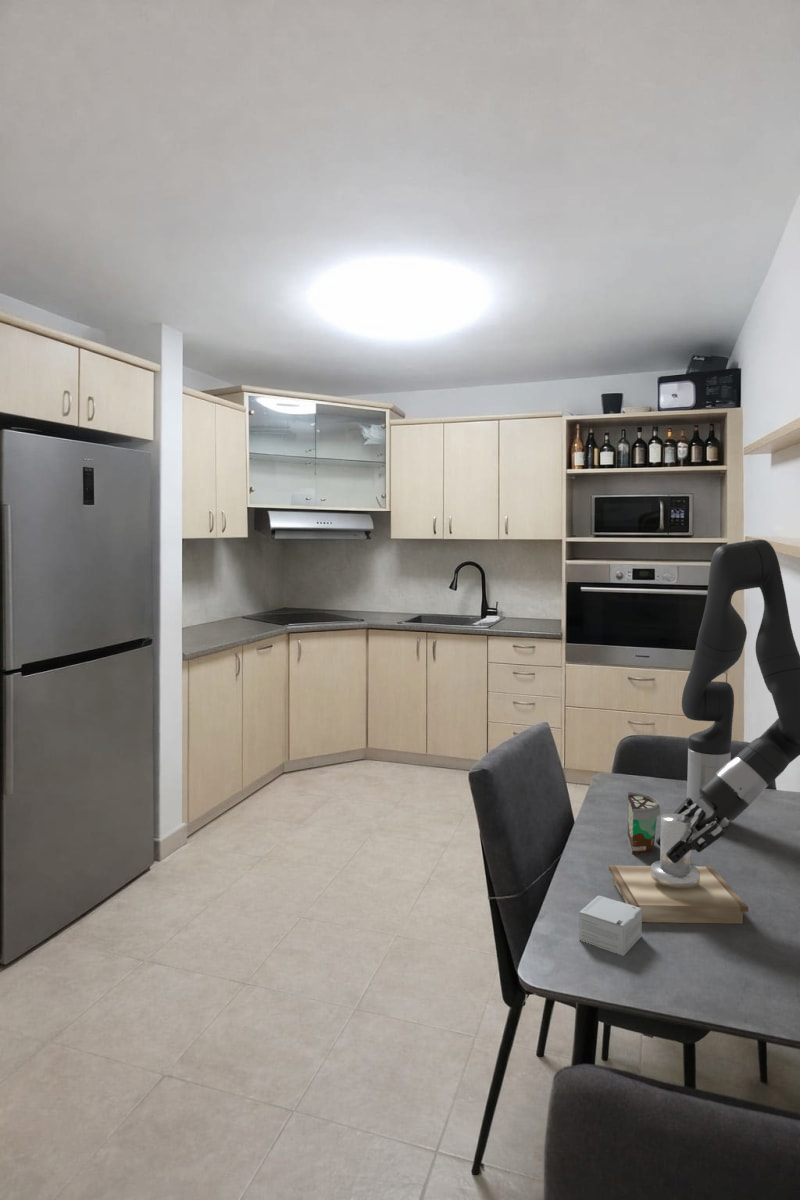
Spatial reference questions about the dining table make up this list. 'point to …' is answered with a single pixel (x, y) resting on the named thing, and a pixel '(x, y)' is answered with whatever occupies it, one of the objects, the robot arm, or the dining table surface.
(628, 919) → the small box
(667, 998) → the dining table surface
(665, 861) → the bell jar
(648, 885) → the stand
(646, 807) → the food container
